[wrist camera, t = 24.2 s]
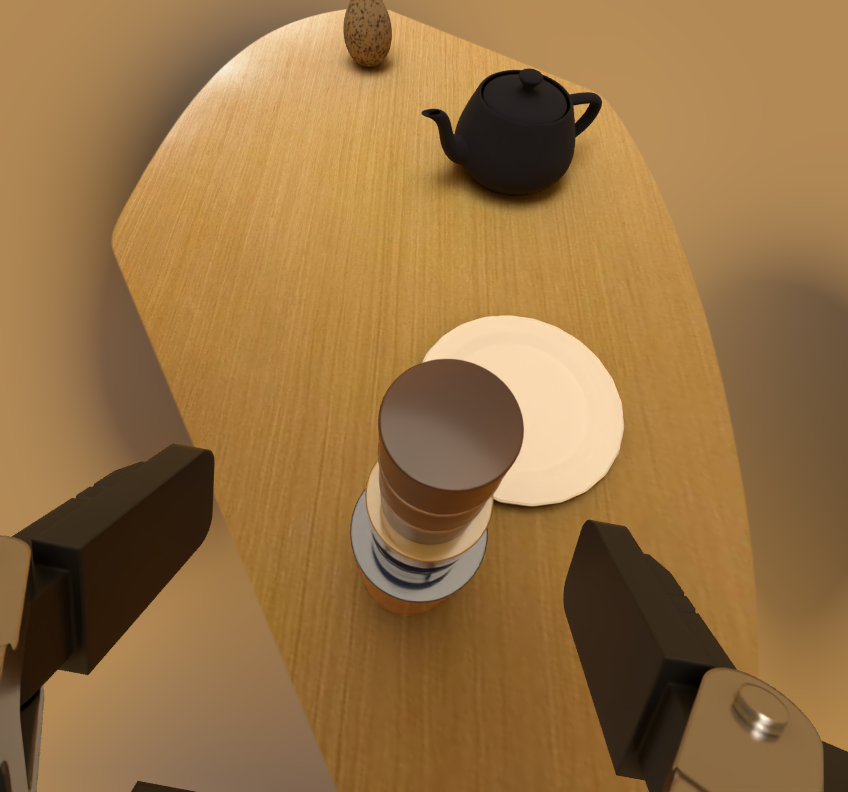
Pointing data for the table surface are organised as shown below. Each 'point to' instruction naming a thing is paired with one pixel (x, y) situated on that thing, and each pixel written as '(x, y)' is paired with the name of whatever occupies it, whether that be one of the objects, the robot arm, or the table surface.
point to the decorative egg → (367, 31)
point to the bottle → (411, 557)
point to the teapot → (516, 131)
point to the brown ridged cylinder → (444, 447)
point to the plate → (545, 404)
